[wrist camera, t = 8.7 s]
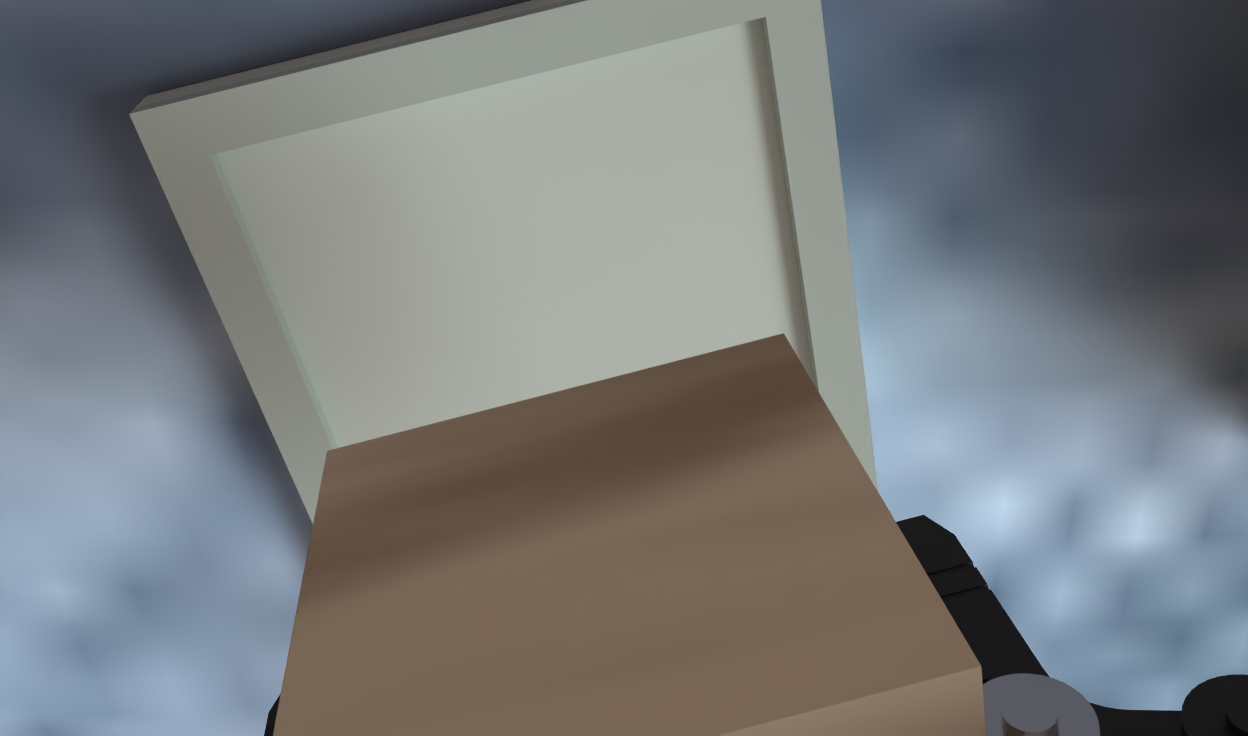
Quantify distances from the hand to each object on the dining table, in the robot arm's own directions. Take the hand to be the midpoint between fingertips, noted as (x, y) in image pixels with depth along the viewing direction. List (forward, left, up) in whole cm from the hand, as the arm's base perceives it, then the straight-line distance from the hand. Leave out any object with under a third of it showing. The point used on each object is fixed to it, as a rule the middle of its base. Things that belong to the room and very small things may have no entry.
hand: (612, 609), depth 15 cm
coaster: (0, 0, -9) cm, 9 cm away
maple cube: (0, 0, -1) cm, 1 cm away
